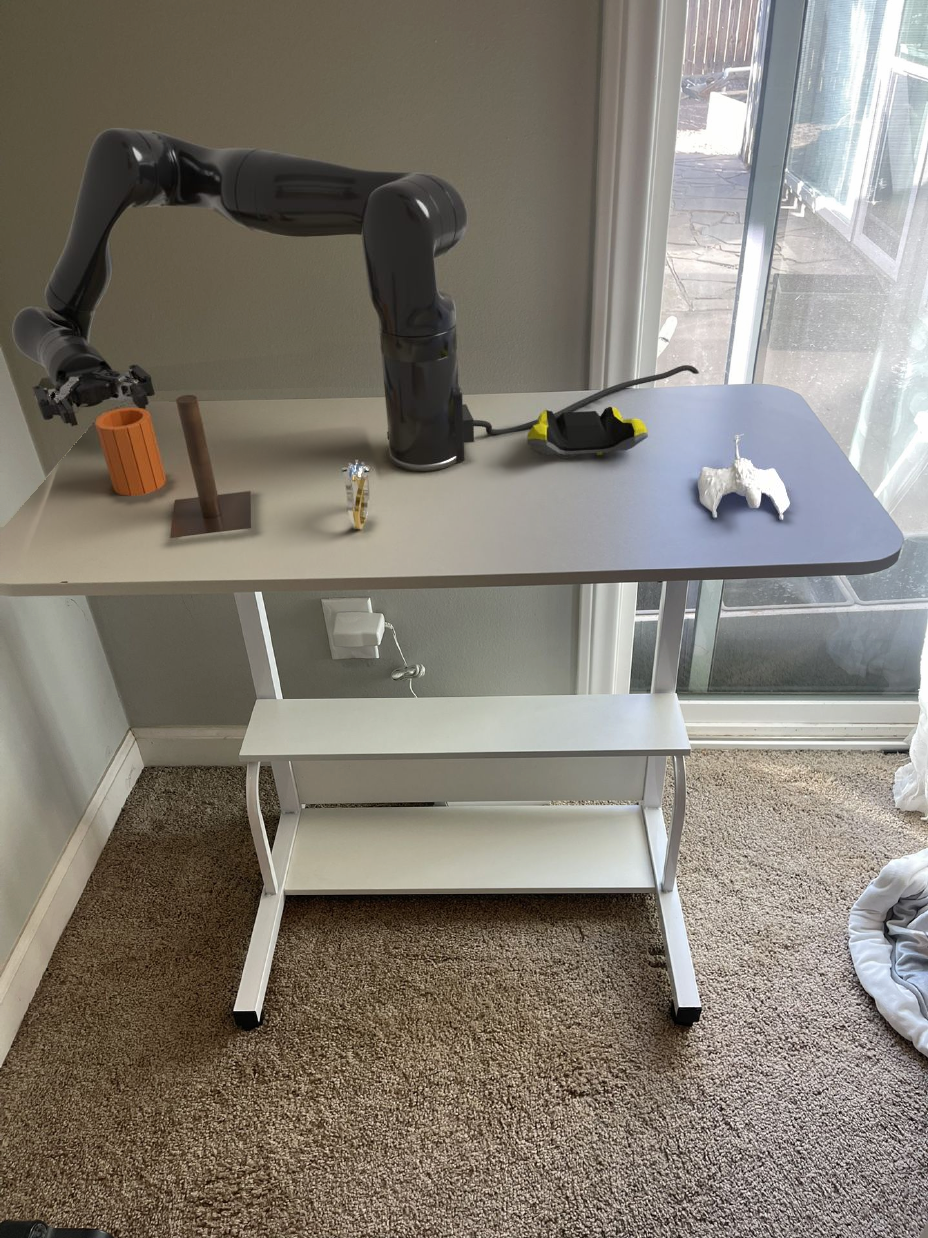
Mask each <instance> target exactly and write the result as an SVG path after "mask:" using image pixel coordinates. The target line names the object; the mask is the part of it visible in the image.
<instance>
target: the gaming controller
mask: <svg viewBox="0 0 928 1238" xmlns="http://www.w3.org/2000/svg"><path fill="white" fill-rule="evenodd" d="M537 419H538V421H537V425H533V427H532V428H530V429H529V431H528V433H527V435H526V436H527V437H526V439H527V440H526V445H527V446H528V447H529V448H531V449H532V450H534V451H536V452H537V453H539V454H541V455H558V456H559V457H561V458H563V459H572V458H576V457H577V455H581V454H596V455H597V456H600V455H601V456H602V455H603V453H610V452H620V451H622V452H623V451H628V450H631V449H633V448H635V447H636V446H637V445H638V444H640V443H641V442H643V441H644V440H645V439H647V438H649V434H648V428H647V427H646V425H645V423H644V422H643V420H642V419H639V418H625V419H623V417H622V415H621V413H620V411H619V410H618V409H617V408H616V407H613V406H612V405H609V406H606V407H605V408H604V410H603V411H602V412H601V415H600V414H599V413H598V412H597V410H589V411H587V410H586V411H585V410H584V411H572V412H566V413H562V414H561V415H560V416H559V417H558V418H556V417H555V415H554V412H553V411H552V410H550V409H546V408H545V409H544V410H543V411H542V412H541V413H540V414H539V416H538V417H537Z"/></svg>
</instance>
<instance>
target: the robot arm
mask: <svg viewBox="0 0 928 1238" xmlns="http://www.w3.org/2000/svg"><path fill="white" fill-rule="evenodd" d="M158 208H159V209H164V208H193V209H203V210H209V211H212V212H215V213H217V214H219V215H220V216H222V217H223V218H225V219H226V220H227V221H229V222H230V223H232V224H234V225H236V226H238V227H239V228H240V227H241V228H243V229H246V230H250V231H253V232H257V233H262V234H266V235H267V234H268V235H272V236H276V237H285V238H298V239H299V238H302V239H304V238H305V239H306V238H308V239H309V238H327V237H339V236H361V244H362V252H363V253H362V254H363V259H364V267H365V274H366V281H367V288H368V294H369V298H370V301H371V304H372V306H373V308H374V310H375V312H376V314H377V318H378V319H377V320H378V329H379V330H378V331H379V341H380V353H381V365H382V375H383V386H384V387H383V389H384V398H385V409H386V410H385V411H386V421H387V432H386V435H387V440H388V447H389V449H388V453H389V460H390V462H391V463H392V464H394V465H395V466H396V467H398V468H401V469H404V470H407V471H414V472H430V471H437V470H441V469H446V468H448V467H450V466H452V465H454V464H455V463H460V462H464V461H465V444H466V443H475V427H479V428H480V427H481V428H482V427H483V428H484V429H485V432H486V434H487V435H490V436H501V435H505V434H512V433H516V432H517V433H518V432H522V431H523V432H524V431H527V430H531V428H532V427H533V425H537V421H538V418H537V419H535V420H531V421H529V422H525V423H522V424H519V425H517V426H513V427H509V428H504V429H503V428H502V429H495V428H493V426H492V424H491V422H489V421H486V420H482V419H480V420H479V419H474V418H473V415H472V414H471V412H470V410H469V408H468V405H467V404H466V403H463V402H464V401H463V391H462V388H461V386H460V384H459V363H458V360H459V359H458V337H457V334H458V333H457V310H456V309H457V308H456V307H457V306H456V302H455V300H454V299H453V297H452V296H451V295H449V294H448V293H447V292H446V293H445V292H444V291H440V290H439V289H438V284H437V274H436V265H435V263H436V262H435V261H436V260H438V259H440V258H443V257H444V256H446V255H447V254H448V253H449V252H451V251H452V250H454V248H456V246H457V245H458V244H459V243H460V241H461V240H462V239H463V237H464V235H465V232H466V230H467V228H468V219H469V217H468V210H467V206H466V203H465V201H464V199H463V197H462V195H461V194H460V192H459V191H458V190H457V188H456V187H455V186H454V185H453V184H452V183H451V182H449V181H448V180H446V179H445V178H443V177H442V176H440V175H437V174H435V173H431V172H426V171H387V170H386V171H384V170H368V169H361V168H356V167H350V166H347V165H343V164H337V163H334V162H329V161H325V160H320V159H316V158H310V157H305V156H298V155H294V154H290V153H285V152H280V151H273V150H268V149H262V148H255V147H254V148H253V147H241V146H240V147H239V146H238V147H235V146H234V147H221V148H215V147H214V148H213V147H208V146H204V145H201V144H197V143H193V142H190V141H187V140H184V139H181V138H179V137H176V136H173V135H170V134H167V133H164V132H160V131H158V130H151V129H139V128H126V127H111V128H107V129H104V130H103V131H101V132H100V133H99V134H98V135H97V136H96V137H95V139H94V140H93V142H92V145H91V147H90V149H89V151H88V155H87V158H86V161H85V166H84V169H83V173H82V178H81V181H80V186H79V190H78V194H77V198H76V203H75V206H74V211H73V215H72V220H71V225H70V228H69V233H68V236H67V238H66V242H65V244H64V247H63V249H62V252H61V255H60V257H59V259H58V260H57V263H56V265H55V266H54V268H53V271H52V273H51V275H50V277H49V280H48V282H47V283H46V287H45V289H44V300H45V302H46V304H47V305H48V307H49V308H50V309H51V310H49V309H46V308H43V307H40V306H27V307H24V308H22V309H21V310H20V311H18V313H16V315H15V317H14V319H13V322H12V327H11V332H12V339H13V342H14V344H15V346H16V348H17V350H18V351H19V352H20V353H21V354H22V355H23V356H25V357H26V358H28V359H30V360H31V361H33V362H34V363H36V364H38V365H40V366H42V367H43V368H44V369H45V372H46V375H47V376H48V379H49V381H50V384H51V385H53V386H54V388H50V389H48V387H43V385H40V384H39V385H34V386H33V387H32V391H33V395H34V397H35V400H36V404H37V406H38V409H39V411H40V414H41V416H42V418H43V419H42V420H45V421H49V420H52V419H53V418H54V416H58V417H59V419H61V421H62V422H63V423H64V424H66V425H67V424H70V426H71V427H75V426H78V425H79V424H78V420H77V417H76V414H78V413H79V412H80V411H81V410H82V409H83V408H91V407H95V406H98V405H100V404H102V403H103V402H108V401H113V402H117V403H124V402H127V401H132V402H133V403H134V405H135V406H136V408H142V409H145V410H146V407H147V406H148V405H149V403H150V402H149V399H148V397H152V396H154V395H155V394H156V392H155V389H154V385H153V381H152V376H151V375H150V374H149V373H148V372H146V370H145V369H143V368H142V367H141V366H140V365H139V364H130V365H129V367H128V368H129V369H128V371H127V372H122V373H120V372H119V371H117V370H113V368H112V366H111V365H110V364H109V363H108V362H107V360H106V359H105V358H104V357H103V356H102V355H101V354H100V352H99V351H98V349H96V347H94V346H93V345H92V344H91V343H90V342H91V331H92V325H93V321H94V317H95V313H96V312H97V309H98V307H99V305H100V303H101V301H102V299H103V297H104V295H106V292H107V290H108V288H109V286H110V283H111V281H112V280H111V279H112V277H113V270H114V260H113V253H112V247H111V237H112V233H113V230H114V228H115V226H116V224H117V223H118V222H119V219H121V217H122V216H123V214H124V213H125V212H126V211H127V210H128V209H158ZM686 371H688V372H689V373H692V374H694V375H698V374H700V371H699V370H698V369H697V367H695V366H693V365H690V364H685V365H679V366H677V367H674V368H672V369H670V370H667V371H665V372H662V373H657V374H653V375H649V376H645V377H640V378H636V379H631V380H627V381H625V382H620V383H618V384H615V385H612V386H609V387H607V388H605V389H602V390H599V391H598V392H595V393H594V394H592V395H589V396H587V397H585V398H583V399H581V400H578V401H575V402H574V403H573V404H571V405H568V406H567V407H565V408H563V409H560V410H559V411H556V412H553V414H554V415H555V417H556V418H558V417H559V416H560V415H561V414H562V413H566V412H574V411H575V410H577V409H579V408H581V407H584V406H585V405H586V406H587V405H588V404H590V403H593V402H595V401H596V400H598V399H601V398H602V397H605V396H607V395H609V394H612V393H614V392H618V391H620V390H621V391H622V390H623V389H627V388H630V387H631V388H632V387H635V386H638V385H642V384H647V383H652V382H655V381H660V380H664V379H667V378H670V377H673V376H674V375H678V374H679V373H682V372H686ZM128 387H129V388H128Z"/></svg>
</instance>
